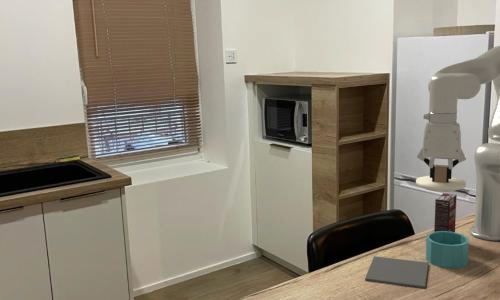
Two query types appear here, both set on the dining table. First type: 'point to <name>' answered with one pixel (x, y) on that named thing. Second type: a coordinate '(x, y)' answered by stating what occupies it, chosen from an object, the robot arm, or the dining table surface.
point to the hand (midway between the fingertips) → (440, 180)
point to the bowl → (447, 249)
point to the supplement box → (445, 213)
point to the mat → (398, 272)
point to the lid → (440, 181)
